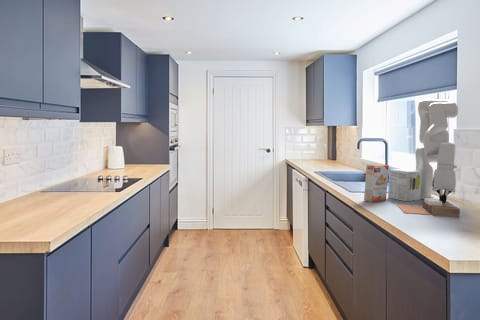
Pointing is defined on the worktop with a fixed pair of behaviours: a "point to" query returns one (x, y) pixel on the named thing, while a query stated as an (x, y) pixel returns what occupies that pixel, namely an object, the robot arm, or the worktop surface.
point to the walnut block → (442, 209)
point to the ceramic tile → (433, 201)
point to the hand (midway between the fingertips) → (442, 202)
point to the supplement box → (405, 184)
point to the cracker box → (376, 182)
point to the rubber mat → (413, 209)
